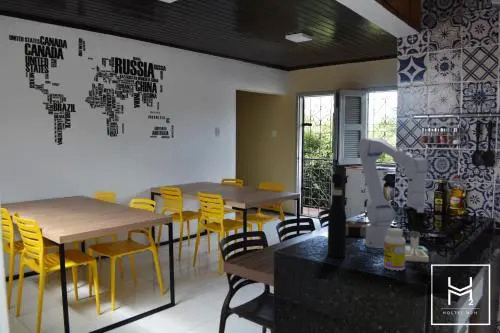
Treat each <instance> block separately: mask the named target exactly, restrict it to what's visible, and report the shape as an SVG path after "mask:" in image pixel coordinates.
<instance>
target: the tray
mask: <svg viewBox="0 0 500 333" xmlns="http://www.w3.org/2000/svg"><path fill="white" fill-rule="evenodd" d="M429 259H430V258H429V256H428V255H426V254H425V253H424V252H423V251H418V256H410V250H405V262H417V263H418V262H419V263H421V262H422V263H429V261H430V260H429Z"/></svg>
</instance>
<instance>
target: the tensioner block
mask: <svg viewBox="0 0 500 333" xmlns="http://www.w3.org/2000/svg"><path fill="white" fill-rule="evenodd" d="M405 250H410V245H406V247H405ZM418 251H423V252H424V253H425V254H426V255H427V256H428V255H429V254H428V253H429V252H428V251H429V250H428V249H427V248H426V247H425V246H424V245H423V246H421V245H418Z"/></svg>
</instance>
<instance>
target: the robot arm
mask: <svg viewBox="0 0 500 333" xmlns="http://www.w3.org/2000/svg"><path fill="white" fill-rule="evenodd" d="M357 150H358V154H359V158H360V162H361V166H362V171H363V174H364V179H365V183H366V187H367V190H368V195H369V199H370V202H369V203H368V204H367V206H366V210H367V212H366V213H367V214H366V217H367V221H368V222H370V224H366V237H364V238H365V240H364V241H365V242H364V243H365V245H366V247H367V248H370V249H371V248H372V249H373V248H375V249H384V239H385V237H386V236H388V233H387V231H388V229H389V228H391V226H392V224H393V222H395V219H396V212H395V209H394V208H393V206H392V203H391V202H390V201H388V200H387V199H385V195H384V191H383V188H382V184H381V179H380V176H379V172H378V169H377V164H376V162H377V161H378V160H379V159H380V158H381V156H382V155H383V154H386V155H387V156H390V157H391V158H392V160H393V162H394V163H395V164H397V165H399V166H401V167H402V168H403V169H404V171H405V173H406V179H407V194H406V195H407V198H406V200H407V201H406V207H404V211H405V213H406V216H407V221H408V226H409V228H413V231H415V232H420V233H421V232H422V230H423V226H424V223H425V220H426V218H427V217H428V214H429V213H428V212H425V211H424V210H425V207H429V204H428V203H425V201H426V200H425V197H426V173H428V172H429V170H430V162H429V160H428V159H427V158H426V157H418V156H417V154H415V153H411V152H409V151H408V150H409V149H407V148H399V149H398V148H396V146H393V145H392V144H391V143H389V142H388V140H387V139H385V138H382V137H378V138H377V137H376V138H374V137H373V138H372V137H371V138H370V137H369V138H367V137H362V138H360V140H359V142H358V144H357Z"/></svg>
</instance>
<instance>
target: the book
mask: <svg viewBox="0 0 500 333" xmlns="http://www.w3.org/2000/svg"><path fill="white" fill-rule="evenodd" d="M366 224H370V222H369V221H358V220H348V219H346V237H348V236H353V237H362V238H366Z"/></svg>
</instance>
